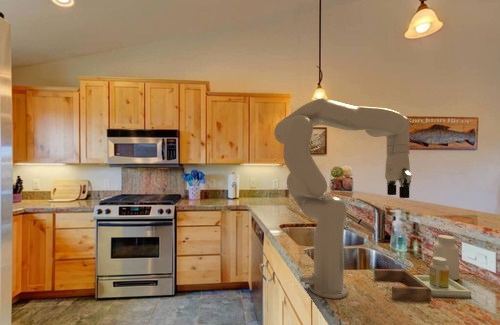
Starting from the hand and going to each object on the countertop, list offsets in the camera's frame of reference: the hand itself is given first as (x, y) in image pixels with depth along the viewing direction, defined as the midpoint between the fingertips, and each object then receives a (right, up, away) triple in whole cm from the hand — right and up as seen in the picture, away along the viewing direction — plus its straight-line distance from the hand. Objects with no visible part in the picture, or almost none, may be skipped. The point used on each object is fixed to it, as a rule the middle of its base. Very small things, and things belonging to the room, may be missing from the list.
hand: (397, 196), depth 101 cm
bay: (-5, -30, -9) cm, 32 cm away
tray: (+9, -30, -9) cm, 33 cm away
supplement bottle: (+9, -30, -9) cm, 32 cm away
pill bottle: (+19, -31, +1) cm, 36 cm away
